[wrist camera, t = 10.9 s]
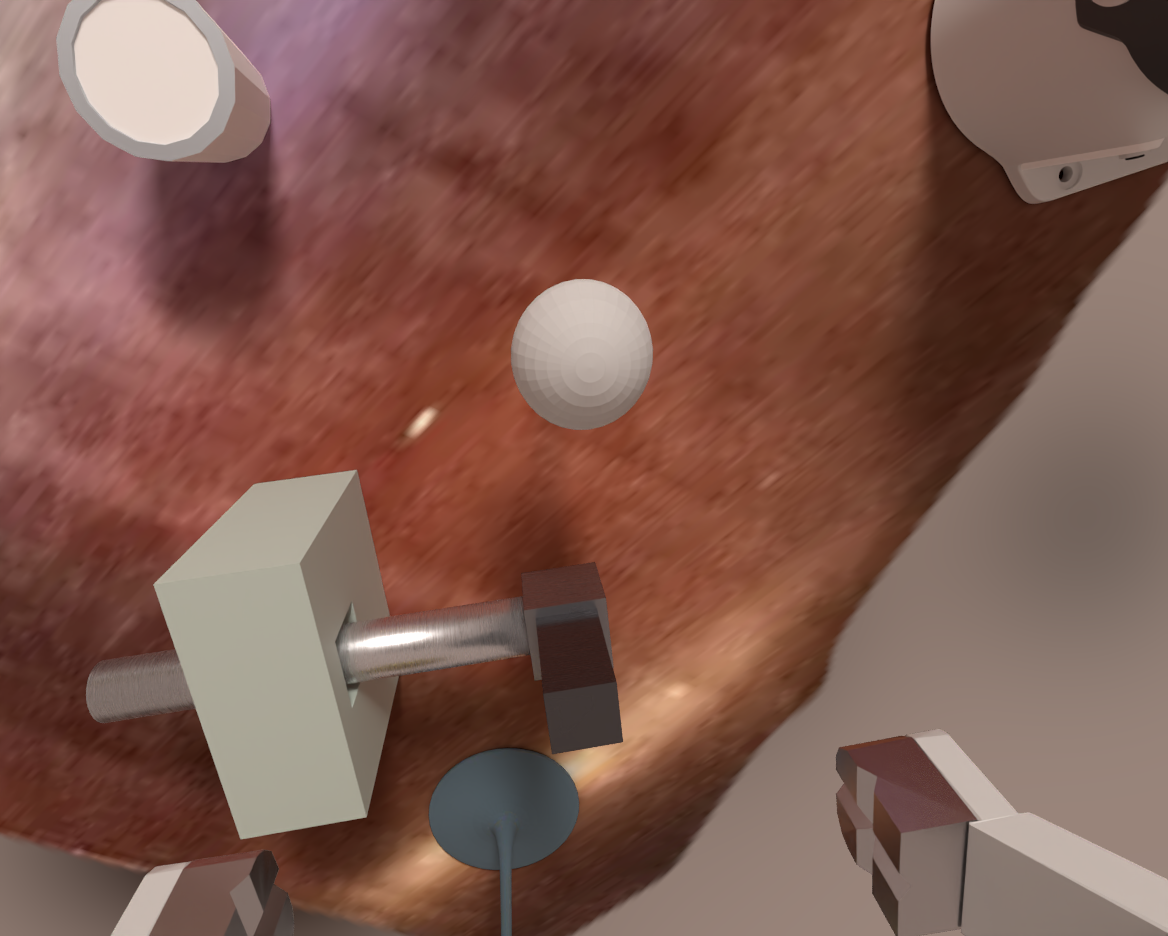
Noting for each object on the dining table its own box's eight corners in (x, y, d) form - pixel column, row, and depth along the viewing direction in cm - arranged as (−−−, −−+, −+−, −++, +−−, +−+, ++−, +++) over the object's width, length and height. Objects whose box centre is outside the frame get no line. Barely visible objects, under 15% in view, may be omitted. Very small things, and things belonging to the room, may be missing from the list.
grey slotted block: (357, 469, 42) (299, 563, 30) (401, 666, 46) (366, 817, 34) (254, 483, 41) (153, 584, 29) (308, 681, 46) (240, 839, 34)
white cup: (234, 204, 37) (176, 196, 30) (111, 107, 35) (20, 76, 28) (311, 96, 36) (269, 63, 29) (188, -10, 34) (112, -72, 27)
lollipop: (511, 262, 39) (519, 274, 25) (614, 274, 40) (678, 292, 26) (503, 371, 41) (506, 440, 27) (601, 380, 42) (655, 452, 28)
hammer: (595, 562, 38) (627, 669, 28) (602, 626, 39) (635, 749, 30) (113, 634, 36) (-25, 775, 26) (137, 699, 37) (15, 856, 28)
